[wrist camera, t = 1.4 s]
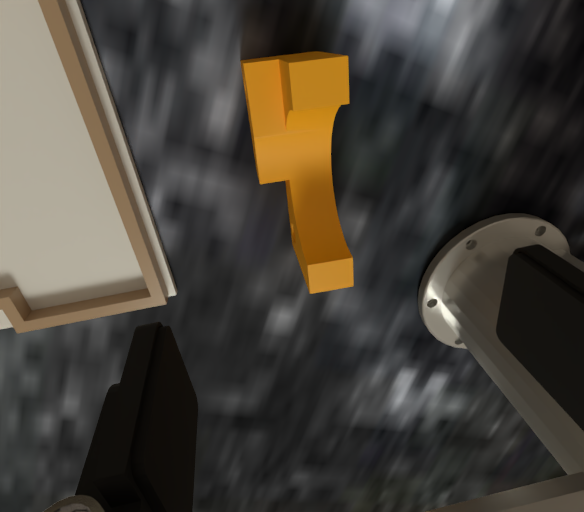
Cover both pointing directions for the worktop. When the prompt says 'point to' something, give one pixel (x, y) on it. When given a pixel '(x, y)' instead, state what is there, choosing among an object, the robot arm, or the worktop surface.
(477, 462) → the worktop surface
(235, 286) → the worktop surface
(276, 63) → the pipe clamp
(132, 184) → the shallow rimmed tray
